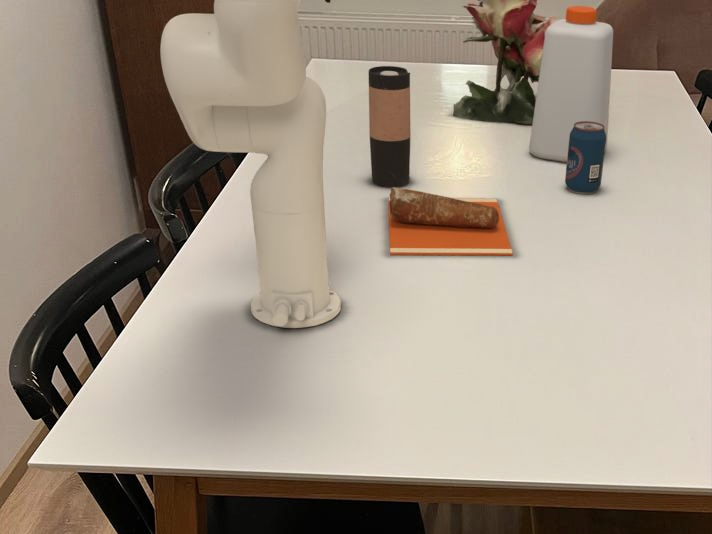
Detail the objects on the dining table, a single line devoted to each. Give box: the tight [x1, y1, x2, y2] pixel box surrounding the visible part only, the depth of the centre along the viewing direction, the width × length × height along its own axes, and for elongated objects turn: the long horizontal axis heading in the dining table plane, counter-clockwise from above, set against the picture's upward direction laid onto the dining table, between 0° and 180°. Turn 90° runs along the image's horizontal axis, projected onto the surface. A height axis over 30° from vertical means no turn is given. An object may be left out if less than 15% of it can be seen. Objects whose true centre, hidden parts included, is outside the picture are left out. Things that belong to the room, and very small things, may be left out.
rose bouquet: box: [452, 0, 562, 125], centre depth 216 cm, size 26×29×30 cm
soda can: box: [564, 121, 608, 195], centre depth 176 cm, size 7×7×12 cm
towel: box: [388, 196, 514, 257], centre depth 161 cm, size 26×20×1 cm
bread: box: [388, 187, 499, 228], centre depth 158 cm, size 6×19×6 cm, turn 82°
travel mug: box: [368, 65, 412, 188], centre depth 172 cm, size 8×8×20 cm
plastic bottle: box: [528, 5, 614, 163], centre depth 190 cm, size 15×15×28 cm
